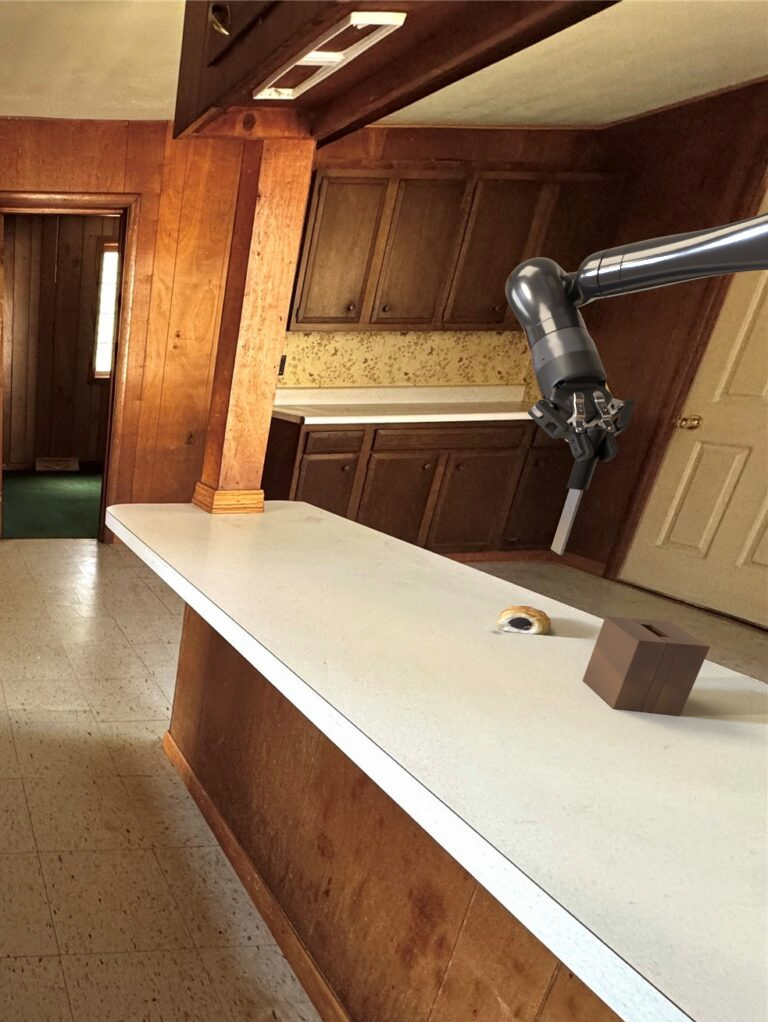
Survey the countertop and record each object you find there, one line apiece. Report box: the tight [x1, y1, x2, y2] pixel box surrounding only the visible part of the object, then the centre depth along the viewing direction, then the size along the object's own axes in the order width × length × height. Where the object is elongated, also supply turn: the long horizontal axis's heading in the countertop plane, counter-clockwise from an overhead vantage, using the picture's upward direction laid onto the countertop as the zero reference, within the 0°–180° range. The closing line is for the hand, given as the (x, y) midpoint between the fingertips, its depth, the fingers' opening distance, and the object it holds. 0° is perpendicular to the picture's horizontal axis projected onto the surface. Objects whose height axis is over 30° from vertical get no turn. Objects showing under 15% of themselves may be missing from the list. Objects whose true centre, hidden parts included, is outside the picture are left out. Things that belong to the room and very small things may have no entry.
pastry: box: [496, 605, 552, 636], centre depth 112 cm, size 9×7×4 cm
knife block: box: [582, 615, 711, 717], centre depth 88 cm, size 7×8×11 cm
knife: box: [550, 427, 607, 556], centre depth 100 cm, size 2×3×19 cm
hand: (597, 458), depth 96 cm, fingers closed on knife, 2 cm apart
